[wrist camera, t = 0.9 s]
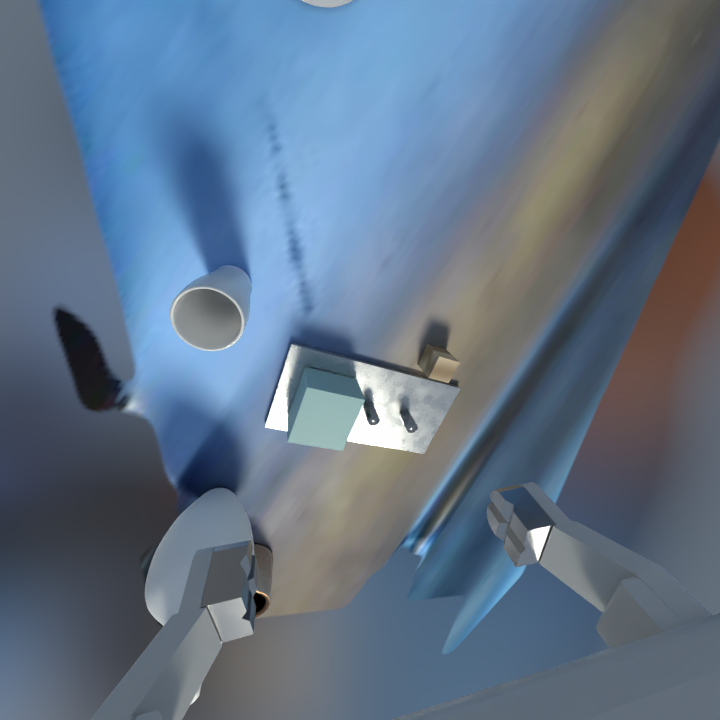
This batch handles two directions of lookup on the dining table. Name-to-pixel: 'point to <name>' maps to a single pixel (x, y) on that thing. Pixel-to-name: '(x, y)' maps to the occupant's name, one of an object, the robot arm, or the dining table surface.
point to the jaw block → (438, 363)
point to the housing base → (372, 399)
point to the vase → (192, 548)
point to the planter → (263, 578)
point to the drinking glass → (213, 309)
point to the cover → (324, 409)
